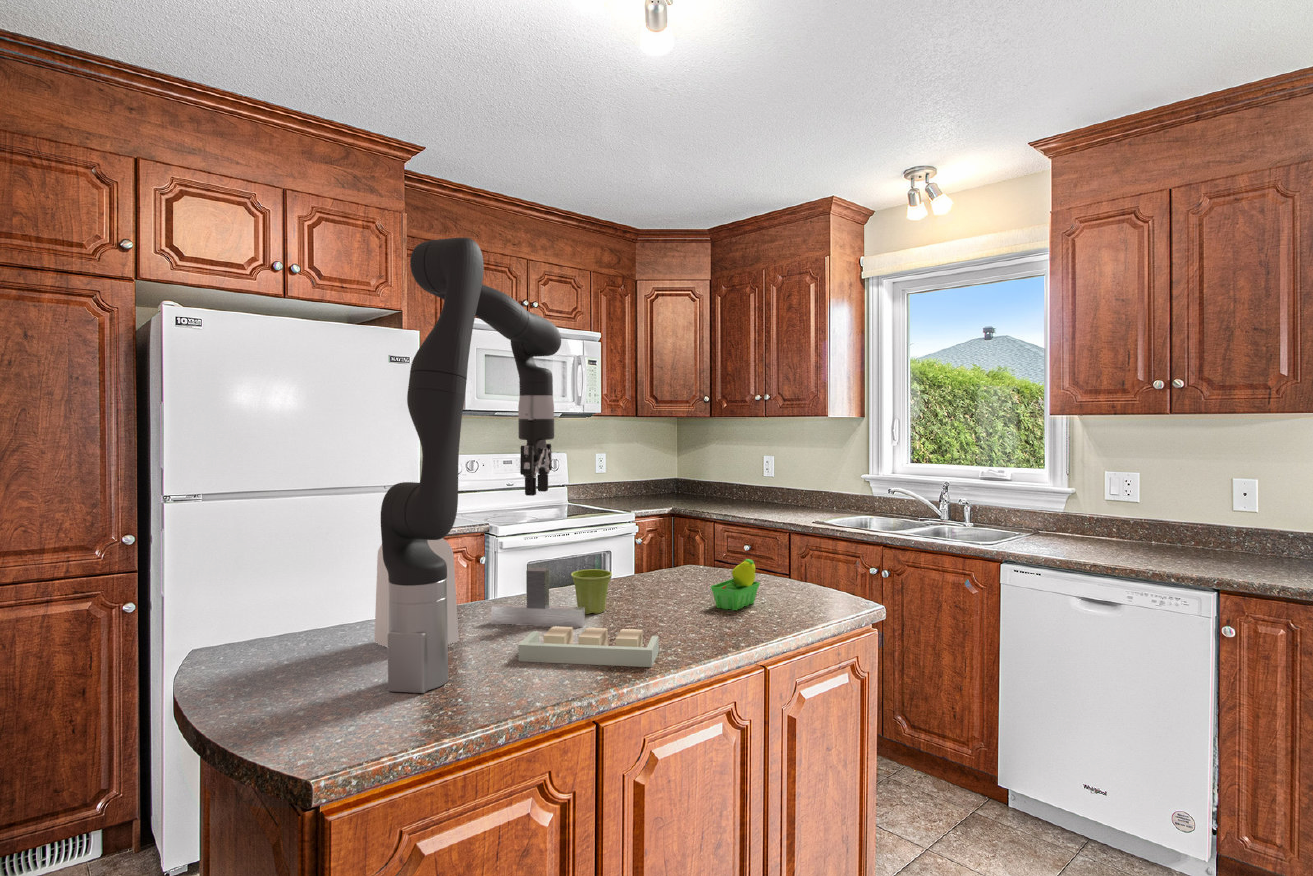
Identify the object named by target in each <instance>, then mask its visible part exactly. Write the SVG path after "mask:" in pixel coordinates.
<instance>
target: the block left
mask: <svg viewBox="0 0 1313 876" xmlns="http://www.w3.org/2000/svg"><path fill="white" fill-rule="evenodd" d="M542 637H543V640H542V643H551V644H574V627H554V626H553V627H552V626H551V627H550V628H549V629H548V631H546V632H545V634H543V636H542Z"/></svg>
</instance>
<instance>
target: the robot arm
mask: <svg viewBox="0 0 1313 876" xmlns="http://www.w3.org/2000/svg"><path fill="white" fill-rule="evenodd" d="M409 259H410V260H409V262H410V263H409V265H410V266H409V267H410V271H411V274H412V277H413V279H414V281H415V282H416V284H417V285H418V286H419V287H420V288H421V289H422V290H424V291H426V292H427V293H429V294H431V295H433V296H435V297H437V298H439V299H441V300H443V305H442V308H441V312H440V314H439V317H438V318H437V321H436V323H435V324H434V325H433V327H432V329H431V330H430V332H429V333H428V335H427V337H426V338H425V339H424V341H422V343H421V345H420V347H419V348H418V350H417V352H416V353H415V355H414V357H413V359H412V362H411V365H410V371H409V381H408V387H407V395H406V402H407V403H406V404H407V409H408V412H409V415H410V419H411V421H412V423H413V426H414V429H415V431H416V433H417V436H418V440H419V443H420V446H421V447H420V448H421V453H422V455H421V456H422V457H421V458H422V461H421V463H422V464H421V473H420V478H419V479H420V481H419V482H415V481H414V482H413V481H412V482H411V481H409V482H408V481H406V482H405V481H403V482H398V483H395V484H393V485H392V486H391V487H390V488H388V490H387V491H386V493H385V494H384V496H383V499H382V502H381V507H380V533H381V535H380V536H381V545H382V552H383V561H384V564H385V567H386V569H387V571H388V581H389V633H388V648H387V691H388V692H395V693H396V692H397V693H398V692H399V693H414V694H415V693H416V694H417V693H419V694H424V693H426V692H427V691H430V690H434V689H436V688H440V687H441V686H444V685H445V684H446V683H447V682H448V681H449V650H448V648H449V645H448V619H447V564H446V562H445V560H444V559H442V558H441V557H439V556H438V555H437V554H435V553H434V552H433V551H432V550H431V548H430V547H429V545H428V542H427V540H439V539H442V538H443V539H445V537H446V536H448V535H449V534H450V532H451V531H452V529H453V527H454V525H455V522H456V517H457V514H458V506H459V505H458V504H459V462H460V461H459V458H460V457H459V456H460V455H459V453H460V442H461V430H462V421H463V420H462V419H463V412H464V411H463V410H464V405H465V399H466V392H467V391H466V389H467V382H468V368H469V358H470V350H471V342H472V337H473V336H472V335H473V328H474V324H475V323H474V322H475V319H476V318H477V319H479V320H481V321H482V322H484V323H485V324H487V325H488V326H489V327H491V328H492V329H493V330H495V331H496V332H498V333H499V334H500V335H501V336H503V337H504V338H506V339H507V340H510V347H511V352H512V355H513V357H514V361H515V365H516V369H517V374H518V377H519V381H518V383H519V397H518V406H517V407H518V409H517V412H518V416H517V417H518V419H517V420H518V439H519V440H520V441H521V440H522V441H526V445H520V447H519V449H520V462H519V463H520V464H519V465H520V471H519V473H520V475H522V477H523V478H524V495H525V496H527V497H528V496H529V497H530V496H533V497H534V496H536V495H537V491H538V492H541V493H542V492H545V493H546V492H548V491H549V474H550V472H551V471H552V469H553V466H552V465H553V463H552V462H553V461H552V444H551V443H547V440H549V441H551V440H554V438H555V403H554V395H553V393H554V391H553V390H554V389H553V388H554V386H553V385H554V382H553V381H554V380H553V379H554V378H553V372H552V371H551V370H550V369H549V368H545V367H542V366H540V367H539V366H537V364H536V361H535V359H534V357H535V358H537V357H550V356H553V355H555V354H556V353H558V352H559V350H560V348H561V345H562V336H561V333H560V331H559V328H558V327H557V326H556V325H555V324H554V323H553V322H551V321H550V320H549V319H547V318H545V317H543V316H540V315H537V314H536V313H533V312H532V311H531V312H530V311H528V310H527V309H526V308H525V307H523V305H521V303H519V302H518V301H517V300H516V299H514V298H513V297H511V296H510V295H508V294H507V293H504V292H503V291H501V290H498V289H495V288H493V287H490V286H487V285H485V284H484V283H483V282H484V274H485V273H484V271H485V270H484V269H485V268H484V267H485V265H484V264H485V263H484V257H483V253H482V250H481V247H480V245H479V244H478V243H477V242H476V241H475V240H474V239H472V238H469V237H449V238H442V239H441V238H439V239H430V240H428V241H426V240H425V241H423V242H421V243H419V244H416V246H415V247H414V249H413V250H412V252H411V254H410V258H409Z"/></svg>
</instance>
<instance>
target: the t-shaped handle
mask: <svg viewBox="0 0 1313 876" xmlns="http://www.w3.org/2000/svg"><path fill="white" fill-rule="evenodd" d="M585 617H586V614H585V607H578V606H562V605H561V606H560V605H559V606H558V605H550V568H548V567H547V568H545V567H543V568H542V567H531V568H528V569H527V570H526V604H504V603H503V604H499V603H495V604H493V605H491V625H498V624H512V625H511V626H514V625H513V624H516V625H515V626H525V625H534V626H533V627H552V626H557V627H558V626H559V627H573V628H579V627H583V628H584V627H585V624H586V618H585ZM517 624H518V625H517ZM535 625H536V626H535ZM538 625H539V626H538Z"/></svg>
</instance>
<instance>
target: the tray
mask: <svg viewBox="0 0 1313 876" xmlns="http://www.w3.org/2000/svg"><path fill="white" fill-rule="evenodd" d="M659 638H660V637H659V635H652V636H651V638H650V640H649V642H648V643H647V646H646V647H645V646H643V647H625V646H616V645H608V646H601V645H578V644H574V643H573V644H551V643H543V642H540V631H539V630H538V631H537V630H536V631H535V630H533V631H532V632H531V633H530V634H528V635H527V636H526V637H525V638H524V639H523V640H521V642H520V643H519V644H518V645H517V646H518V647H517V648H518V662H526V663H528V662H529V663H548V664H549V663H551V664H573V665H590V666H591V665H595V666H616V667H617V666H618V667H638V668H639V667H640V668H653V666H654V664H655V662H654V661H656V659H657V657H658V654H659V651H660V650H659V646H660V645H659V644H660V641H659V640H660V639H659Z"/></svg>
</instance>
